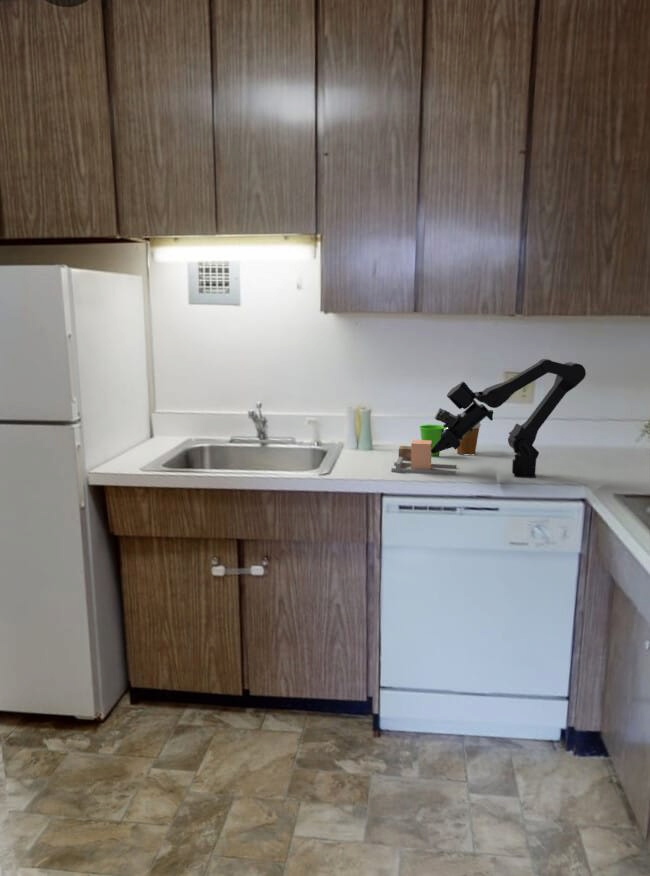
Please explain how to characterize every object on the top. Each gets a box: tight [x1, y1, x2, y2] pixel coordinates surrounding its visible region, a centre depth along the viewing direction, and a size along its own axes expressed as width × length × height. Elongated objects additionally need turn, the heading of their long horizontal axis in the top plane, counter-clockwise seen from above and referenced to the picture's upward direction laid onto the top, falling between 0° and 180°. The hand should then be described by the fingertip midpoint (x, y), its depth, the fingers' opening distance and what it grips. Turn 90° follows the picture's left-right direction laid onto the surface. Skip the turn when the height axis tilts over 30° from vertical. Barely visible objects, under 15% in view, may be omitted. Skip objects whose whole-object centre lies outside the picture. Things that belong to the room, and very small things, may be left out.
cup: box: [418, 424, 445, 458], centre depth 234 cm, size 9×9×11 cm
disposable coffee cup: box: [456, 422, 482, 455], centre depth 240 cm, size 10×10×12 cm
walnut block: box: [398, 445, 411, 462], centre depth 229 cm, size 5×5×5 cm
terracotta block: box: [410, 439, 432, 470], centre depth 212 cm, size 6×6×9 cm
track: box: [390, 456, 458, 476], centre depth 213 cm, size 20×10×4 cm, turn 78°
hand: (431, 452), depth 211 cm, fingers closed, pressing on terracotta block
